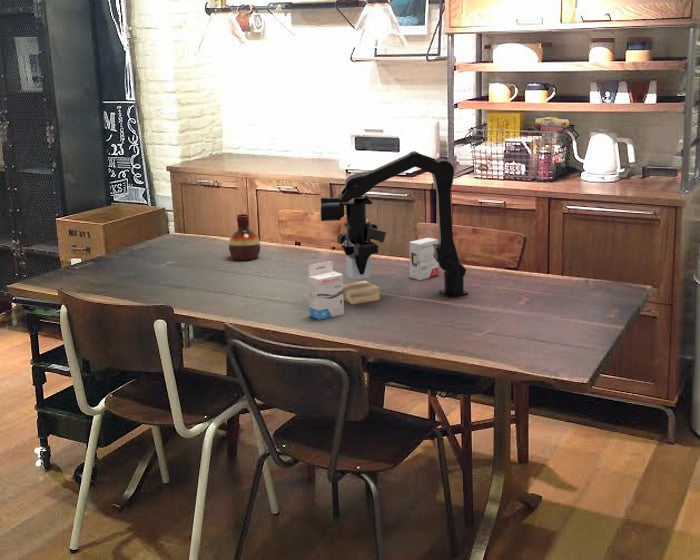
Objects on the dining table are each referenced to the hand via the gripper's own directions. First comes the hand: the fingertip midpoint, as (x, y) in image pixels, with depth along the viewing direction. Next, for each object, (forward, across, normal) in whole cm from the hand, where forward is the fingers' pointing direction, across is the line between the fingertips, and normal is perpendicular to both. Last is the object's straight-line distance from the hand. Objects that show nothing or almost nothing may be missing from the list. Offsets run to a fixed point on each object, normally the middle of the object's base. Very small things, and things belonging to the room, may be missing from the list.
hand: (358, 272), depth 256 cm
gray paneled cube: (+1, 0, 0) cm, 1 cm away
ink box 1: (+8, -12, +14) cm, 20 cm away
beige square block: (+8, 0, 0) cm, 8 cm away
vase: (+8, +64, +19) cm, 67 cm away
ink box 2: (+8, +13, -27) cm, 31 cm away
